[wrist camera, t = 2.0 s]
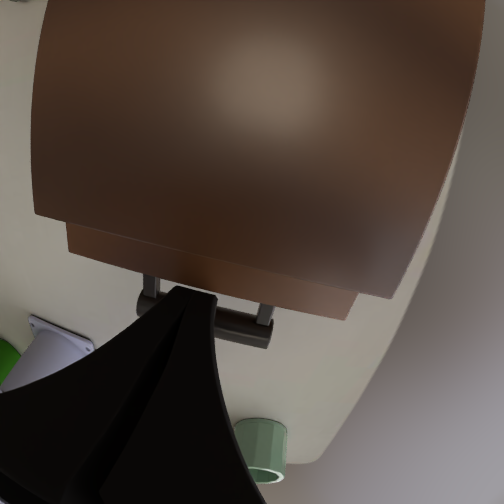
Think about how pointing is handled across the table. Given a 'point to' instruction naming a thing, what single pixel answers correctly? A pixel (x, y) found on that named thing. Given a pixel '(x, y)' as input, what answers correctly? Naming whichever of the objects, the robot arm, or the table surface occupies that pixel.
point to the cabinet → (255, 127)
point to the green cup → (263, 448)
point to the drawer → (213, 284)
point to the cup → (7, 359)
